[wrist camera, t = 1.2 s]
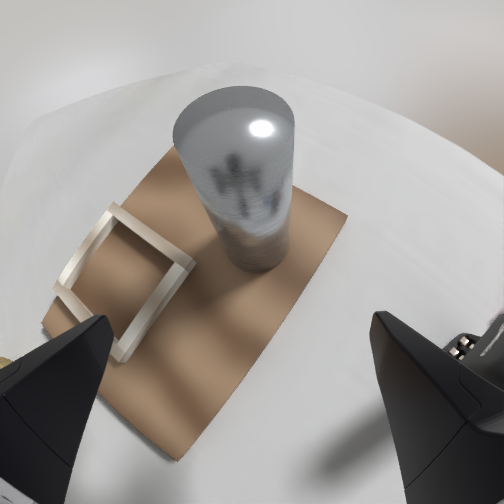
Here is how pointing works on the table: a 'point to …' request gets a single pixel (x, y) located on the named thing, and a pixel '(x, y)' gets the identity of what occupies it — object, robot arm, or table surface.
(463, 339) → the battery charger
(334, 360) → the table surface
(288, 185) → the grey cylinder
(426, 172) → the table surface
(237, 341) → the board
